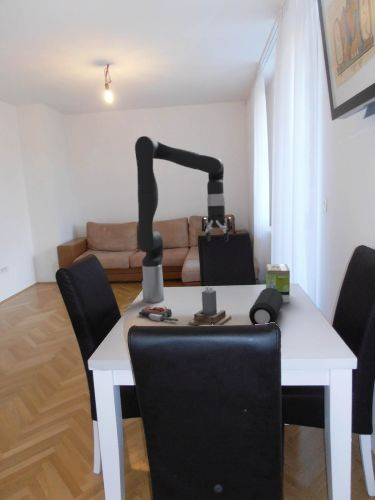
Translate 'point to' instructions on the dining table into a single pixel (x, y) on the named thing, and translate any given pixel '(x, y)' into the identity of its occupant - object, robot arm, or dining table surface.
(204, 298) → the connector plug
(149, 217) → the robot arm
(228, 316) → the tray
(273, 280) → the tea box
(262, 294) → the portable speaker
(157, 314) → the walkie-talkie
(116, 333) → the dining table surface
